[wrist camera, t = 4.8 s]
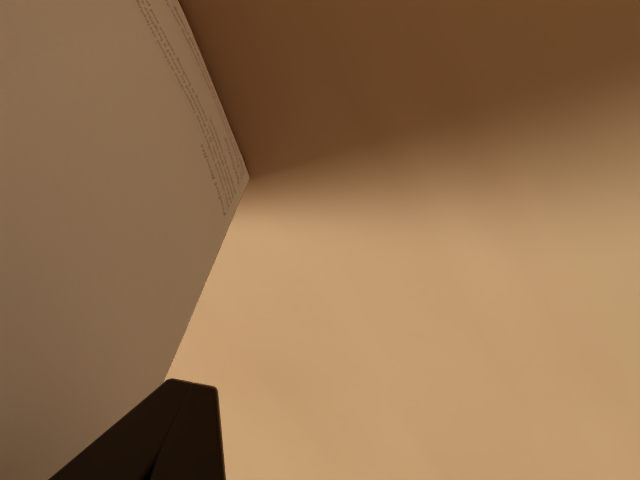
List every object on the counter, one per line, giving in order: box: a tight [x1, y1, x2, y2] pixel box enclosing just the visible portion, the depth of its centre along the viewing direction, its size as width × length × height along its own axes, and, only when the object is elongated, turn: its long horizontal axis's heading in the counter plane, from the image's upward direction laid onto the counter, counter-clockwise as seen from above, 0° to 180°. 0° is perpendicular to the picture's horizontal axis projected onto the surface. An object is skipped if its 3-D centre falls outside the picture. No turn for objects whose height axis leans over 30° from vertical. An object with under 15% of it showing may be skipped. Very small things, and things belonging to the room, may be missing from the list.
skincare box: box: [0, 0, 250, 480], centre depth 13 cm, size 8×6×15 cm
